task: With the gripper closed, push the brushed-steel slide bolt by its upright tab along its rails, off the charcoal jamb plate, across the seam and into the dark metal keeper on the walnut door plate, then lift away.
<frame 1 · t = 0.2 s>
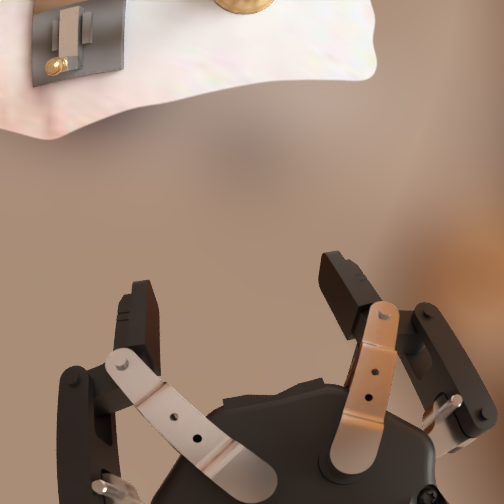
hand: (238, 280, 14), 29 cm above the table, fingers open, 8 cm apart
bolt: (63, 39, 21), point 5 cm above the table, slide at 0.0 cm
lock plate: (79, 4, 22), on the table
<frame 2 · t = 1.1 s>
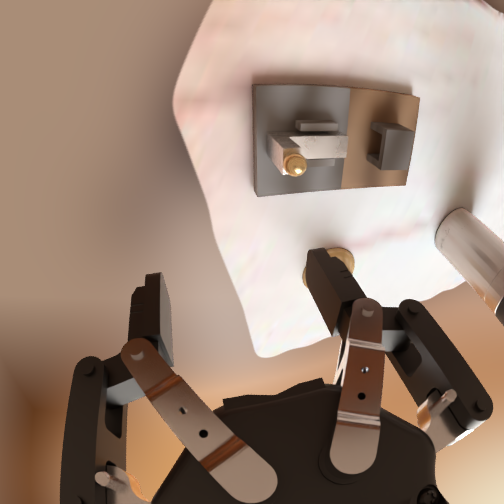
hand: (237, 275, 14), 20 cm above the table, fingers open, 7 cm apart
bolt: (317, 153, 27), point 5 cm above the table, slide at 0.0 cm
lock plate: (340, 136, 32), on the table
hand bell: (328, 269, 44), on the table
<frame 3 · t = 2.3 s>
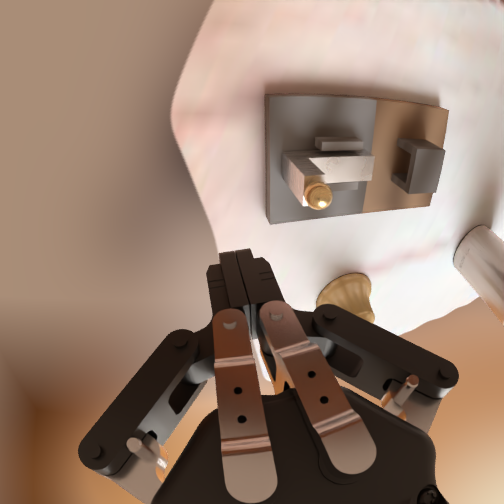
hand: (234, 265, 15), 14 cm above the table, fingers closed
bolt: (341, 178, 23), point 5 cm above the table, slide at 0.0 cm
lock plate: (362, 154, 28), on the table
hand bell: (343, 295, 40), on the table
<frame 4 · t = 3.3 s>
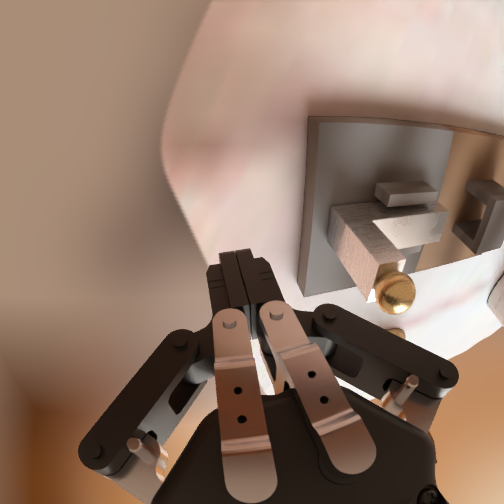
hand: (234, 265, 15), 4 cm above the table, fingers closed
bolt: (414, 250, 15), point 5 cm above the table, slide at 0.0 cm
lock plate: (423, 199, 20), on the table
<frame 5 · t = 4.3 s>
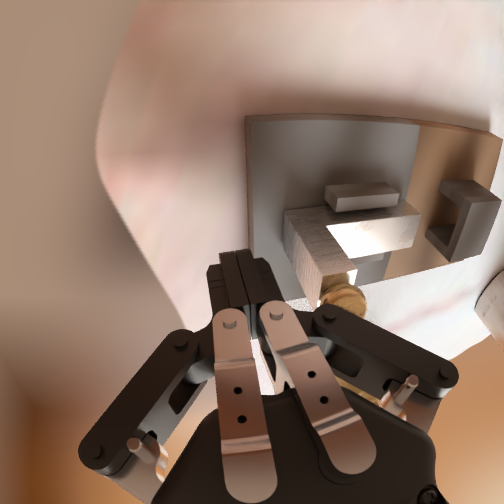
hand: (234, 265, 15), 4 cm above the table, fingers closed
bolt: (376, 258, 15), point 5 cm above the table, slide at 0.6 cm, touching gripper
lock plate: (390, 202, 19), on the table
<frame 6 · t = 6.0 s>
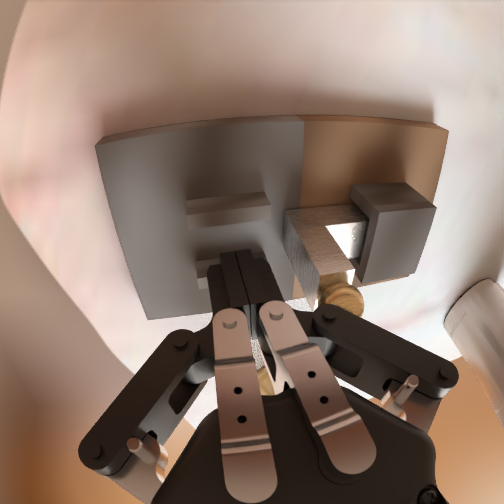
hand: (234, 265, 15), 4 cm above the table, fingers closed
bolt: (375, 258, 15), point 5 cm above the table, slide at 8.1 cm, touching gripper
lock plate: (291, 212, 18), on the table
hand bell: (286, 375, 31), on the table
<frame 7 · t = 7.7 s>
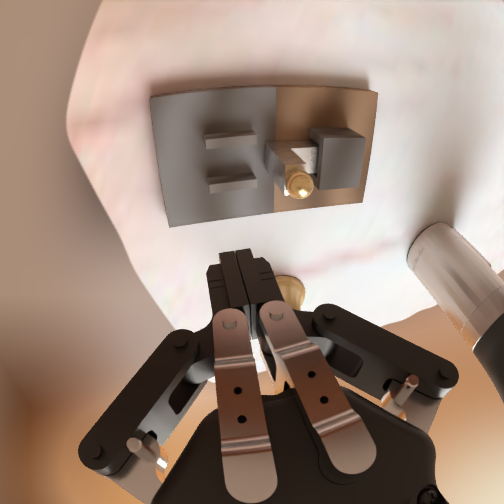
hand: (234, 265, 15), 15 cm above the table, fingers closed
bolt: (324, 167, 23), point 5 cm above the table, slide at 8.0 cm
lock plate: (270, 148, 27), on the table
hand bell: (273, 298, 40), on the table
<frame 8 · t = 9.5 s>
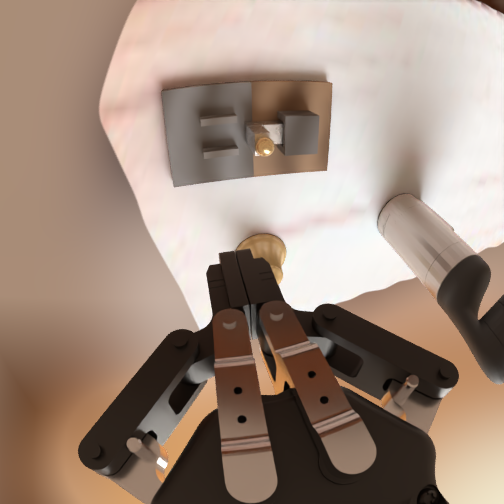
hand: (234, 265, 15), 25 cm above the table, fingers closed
bolt: (286, 137, 31), point 5 cm above the table, slide at 8.0 cm
lock plate: (250, 128, 35), on the table
hand bell: (259, 255, 48), on the table
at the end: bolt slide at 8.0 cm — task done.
